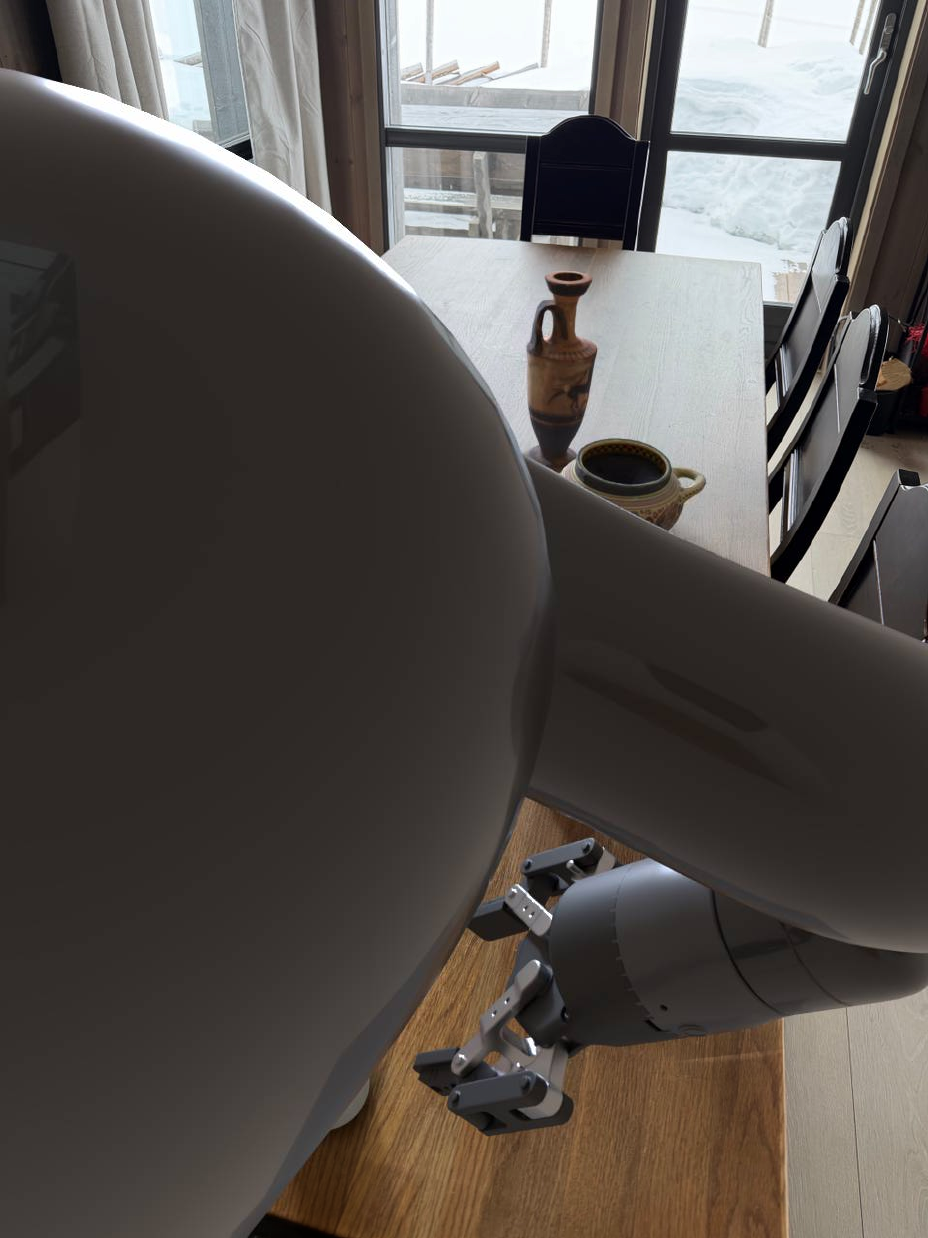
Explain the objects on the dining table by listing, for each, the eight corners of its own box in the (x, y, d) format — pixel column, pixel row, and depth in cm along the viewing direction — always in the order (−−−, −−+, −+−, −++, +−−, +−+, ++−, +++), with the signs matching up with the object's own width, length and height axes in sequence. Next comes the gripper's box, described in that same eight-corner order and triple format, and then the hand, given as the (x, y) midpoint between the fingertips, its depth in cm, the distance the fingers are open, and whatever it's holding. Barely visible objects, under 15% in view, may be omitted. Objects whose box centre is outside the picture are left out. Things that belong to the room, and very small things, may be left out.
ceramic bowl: (535, 586, 121) (548, 511, 109) (517, 496, 131) (527, 418, 120) (704, 576, 123) (735, 502, 111) (673, 489, 134) (698, 412, 122)
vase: (579, 445, 149) (597, 264, 130) (590, 476, 140) (612, 287, 122) (516, 446, 148) (526, 265, 129) (523, 477, 140) (535, 287, 121)
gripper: (648, 768, 42) (444, 852, 53) (588, 1059, 32) (350, 1091, 42) (745, 856, 44) (530, 920, 55) (717, 1157, 34) (460, 1164, 44)
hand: (452, 995), depth 48 cm, fingers open, 8 cm apart
